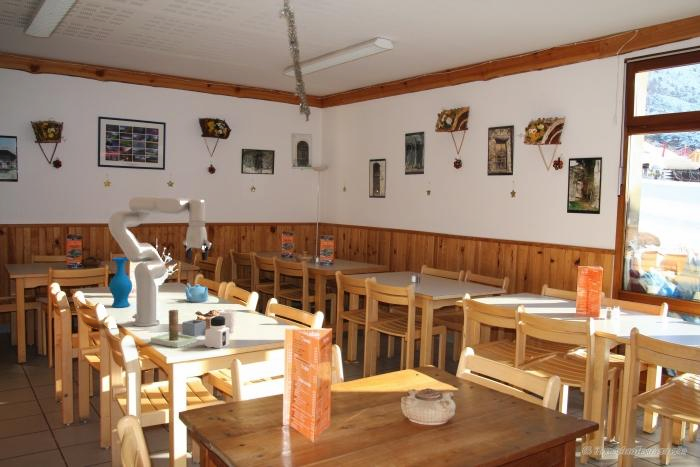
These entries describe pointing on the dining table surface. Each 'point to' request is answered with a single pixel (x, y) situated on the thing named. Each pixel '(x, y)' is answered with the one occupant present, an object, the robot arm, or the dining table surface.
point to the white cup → (229, 318)
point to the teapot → (197, 293)
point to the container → (217, 333)
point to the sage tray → (177, 343)
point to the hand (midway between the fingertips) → (196, 259)
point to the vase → (120, 284)
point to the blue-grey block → (194, 328)
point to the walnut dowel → (173, 325)
